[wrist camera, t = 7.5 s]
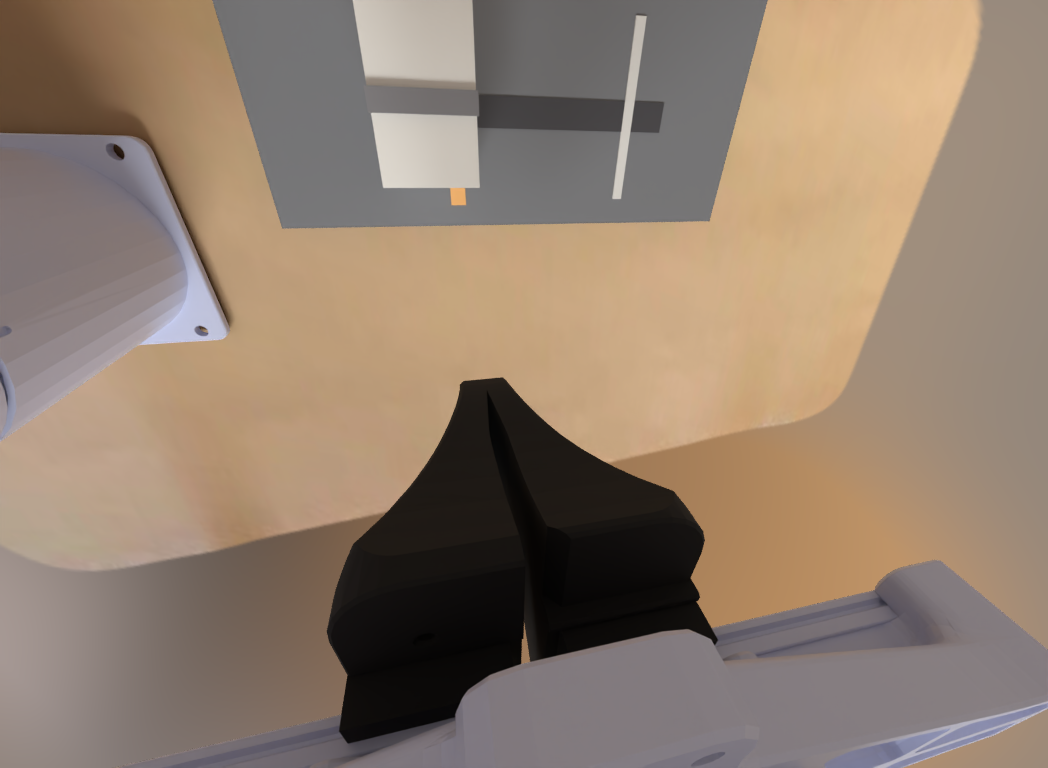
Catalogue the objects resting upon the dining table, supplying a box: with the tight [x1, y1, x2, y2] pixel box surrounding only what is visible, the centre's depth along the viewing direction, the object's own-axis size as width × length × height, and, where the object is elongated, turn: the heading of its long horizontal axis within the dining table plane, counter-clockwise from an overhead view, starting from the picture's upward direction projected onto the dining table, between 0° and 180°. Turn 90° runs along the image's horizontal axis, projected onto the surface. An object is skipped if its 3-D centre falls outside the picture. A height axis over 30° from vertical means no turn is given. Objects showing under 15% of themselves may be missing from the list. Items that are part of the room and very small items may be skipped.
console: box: [212, 0, 768, 228], centre depth 15 cm, size 19×8×2 cm, turn 88°
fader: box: [353, 0, 480, 188], centre depth 12 cm, size 3×4×4 cm
